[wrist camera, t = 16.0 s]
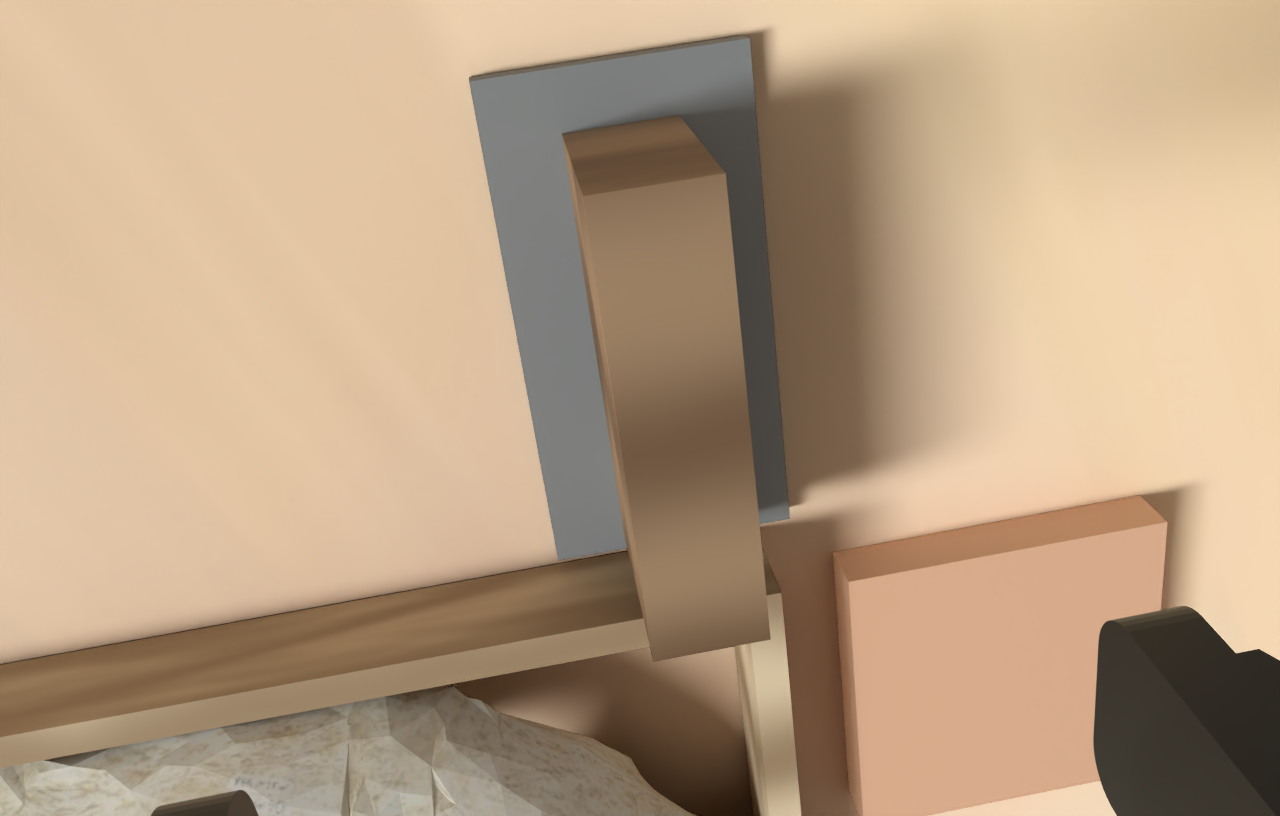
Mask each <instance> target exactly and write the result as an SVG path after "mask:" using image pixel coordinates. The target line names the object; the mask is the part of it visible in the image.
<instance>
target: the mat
mask: <svg viewBox="0 0 1280 816" xmlns="http://www.w3.org/2000/svg"><path fill="white" fill-rule="evenodd" d="M469 82H470V88H471V93H472V99H473V104H474V109H475V115H476V120H477V125H478V131H479V136H480V141H481V147H482V152H483V158H484V163H485V168H486V174H487V179H488V184H489V190H490V195H491V201H492V206H493V211H494V217H495V222H496V227H497V233H498V238H499V244H500V249H501V254H502V260H503V265H504V270H505V276H506V281H507V287H508V292H509V297H510V303H511V308H512V313H513V319H514V324H515V329H516V335H517V340H518V346H519V351H520V356H521V362H522V367H523V372H524V378H525V383H526V389H527V394H528V399H529V405H530V410H531V415H532V421H533V426H534V432H535V437H536V442H537V448H538V453H539V458H540V464H541V469H542V474H543V480H544V485H545V491H546V496H547V501H548V507H549V512H550V517H551V523H552V528H553V534H554V539H555V544H556V550H557V555H558V560H564V559H569V558H575V557H580V556H586V555H591V554H597V553H602V552H608V551H613V550H619V549H624V548H627V546H626V541H625V537H624V531H623V524H622V518H621V511H620V505H619V499H618V492H617V486H616V479H615V473H614V466H613V460H612V454H611V447H610V441H609V434H608V428H607V422H606V415H605V409H604V402H603V396H602V389H601V383H600V377H599V370H598V364H597V357H596V351H595V345H594V338H593V332H592V325H591V319H590V312H589V306H588V300H587V293H586V287H585V280H584V274H583V268H582V261H581V255H580V248H579V242H578V235H577V229H576V223H575V216H574V210H573V203H572V197H571V191H570V184H569V178H568V171H567V165H566V158H565V152H564V146H563V139H562V133H568V132H574V131H581V130H587V129H594V128H600V127H606V126H613V125H619V124H625V123H632V122H638V121H644V120H651V119H657V118H663V117H670V116H676V115H679V116H680V117H681V118H682V119H683V121H684V122H685V123H686V124H687V126H688V127H689V128H690V129H691V131H692V132H693V133H694V134H695V136H696V137H697V138H698V139H699V141H700V142H701V143H702V144H703V146H704V147H705V148H706V149H707V151H708V152H709V153H710V154H711V156H712V157H713V158H714V159H715V161H716V162H717V163H718V164H719V166H720V167H721V168H722V169H723V171H724V172H725V173H726V181H727V192H728V202H729V212H730V223H731V233H732V244H733V254H734V264H735V275H736V285H737V295H738V306H739V316H740V326H741V337H742V347H743V357H744V368H745V378H746V389H747V399H748V409H749V420H750V430H751V440H752V451H753V461H754V471H755V482H756V492H757V502H758V513H759V523H760V524H763V523H768V522H774V521H779V520H785V519H790V516H789V504H788V492H787V480H786V468H785V456H784V444H783V432H782V420H781V408H780V396H779V384H778V372H777V360H776V348H775V336H774V324H773V311H772V299H771V287H770V275H769V263H768V251H767V239H766V227H765V215H764V203H763V191H762V179H761V167H760V155H759V143H758V131H757V119H756V107H755V95H754V83H753V71H752V58H751V46H750V38H749V37H747V36H746V35H740V36H733V37H727V38H720V39H714V40H707V41H701V42H694V43H688V44H681V45H675V46H668V47H662V48H655V49H649V50H642V51H636V52H629V53H623V54H616V55H610V56H603V57H597V58H590V59H583V60H577V61H570V62H564V63H557V64H551V65H544V66H538V67H531V68H525V69H518V70H512V71H505V72H499V73H492V74H486V75H479V76H473V77H469Z"/></svg>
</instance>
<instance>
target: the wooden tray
mask: <svg viewBox="0 0 1280 816" xmlns="http://www.w3.org/2000/svg"><path fill="white" fill-rule="evenodd" d="M762 554H763V565H764V575H765V585H766V596H767V606H768V616H769V627H770V637H771V640H766V641H760V642H755V643H750V644H744V645H739V646H735V654H736V663H737V672H738V681H739V690H740V698H741V707H742V716H743V725H744V734H745V743H746V752H747V760H748V769H749V778H750V787H751V796H752V805H753V814H754V816H801V806H800V795H799V783H798V772H797V761H796V750H795V739H794V727H793V716H792V705H791V694H790V683H789V672H788V660H787V649H786V638H785V627H784V616H783V604H782V593H781V591H780V588H779V586H778V583H777V581H776V579H775V576H774V574H773V572H772V569H771V567H770V565H769V562H768V560H767V558H766V555H765V553H764V551H763V548H762ZM647 647H650V644H649V640H648V636H647V632H646V627H645V623H644V619H643V614H642V610H641V606H640V601H639V597H638V593H637V589H636V584H635V580H634V576H633V571H632V567H631V563H630V558H629V554H628V551H626V552H621V553H615V554H610V555H604V556H599V557H593V558H588V559H582V560H577V561H571V562H566V563H560V564H555V565H549V566H544V567H538V568H533V569H527V570H522V571H516V572H511V573H505V574H499V575H494V576H488V577H483V578H477V579H472V580H466V581H461V582H455V583H450V584H444V585H439V586H433V587H428V588H422V589H417V590H411V591H406V592H400V593H395V594H389V595H384V596H378V597H372V598H367V599H361V600H356V601H350V602H345V603H339V604H334V605H328V606H323V607H317V608H312V609H306V610H301V611H295V612H290V613H284V614H279V615H273V616H268V617H262V618H257V619H251V620H246V621H240V622H234V623H229V624H223V625H218V626H212V627H207V628H201V629H196V630H190V631H185V632H179V633H174V634H168V635H163V636H157V637H152V638H146V639H141V640H135V641H130V642H124V643H119V644H113V645H107V646H102V647H96V648H91V649H85V650H80V651H74V652H69V653H63V654H58V655H52V656H47V657H41V658H36V659H30V660H25V661H19V662H14V663H8V664H3V665H0V768H4V767H10V766H15V765H20V764H26V763H31V762H36V761H42V760H47V759H52V758H58V757H63V756H69V755H74V754H79V753H85V752H90V751H95V750H101V749H106V748H111V747H117V746H122V745H127V744H133V743H138V742H144V741H149V740H154V739H160V738H165V737H170V736H176V735H181V734H186V733H192V732H197V731H202V730H208V729H213V728H219V727H224V726H229V725H235V724H240V723H245V722H251V721H256V720H261V719H267V718H272V717H277V716H283V715H288V714H294V713H299V712H304V711H310V710H315V709H320V708H326V707H331V706H336V705H342V704H347V703H352V702H358V701H363V700H369V699H374V698H379V697H385V696H390V695H395V694H401V693H406V692H411V691H417V690H422V689H427V688H433V687H438V686H444V685H449V684H454V683H460V682H465V681H470V680H476V679H481V678H486V677H492V676H497V675H502V674H508V673H513V672H519V671H524V670H529V669H535V668H540V667H545V666H551V665H556V664H561V663H567V662H572V661H578V660H583V659H588V658H594V657H599V656H604V655H610V654H615V653H620V652H626V651H631V650H636V649H642V648H647Z"/></svg>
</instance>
